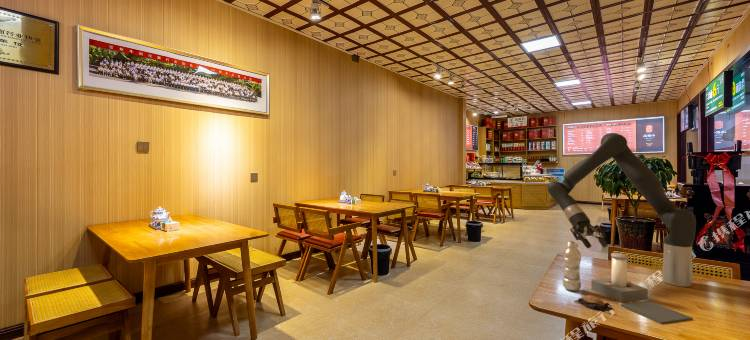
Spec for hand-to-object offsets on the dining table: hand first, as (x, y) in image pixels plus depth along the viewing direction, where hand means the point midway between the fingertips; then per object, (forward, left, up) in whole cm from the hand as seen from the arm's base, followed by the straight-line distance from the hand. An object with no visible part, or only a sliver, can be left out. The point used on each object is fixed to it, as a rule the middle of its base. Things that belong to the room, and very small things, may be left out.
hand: (597, 246), depth 143 cm
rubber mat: (+3, +26, -17) cm, 31 cm away
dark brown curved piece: (+19, +16, -17) cm, 31 cm away
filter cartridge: (0, +10, -17) cm, 19 cm away
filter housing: (0, +10, -17) cm, 19 cm away
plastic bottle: (+15, +2, -17) cm, 23 cm away
